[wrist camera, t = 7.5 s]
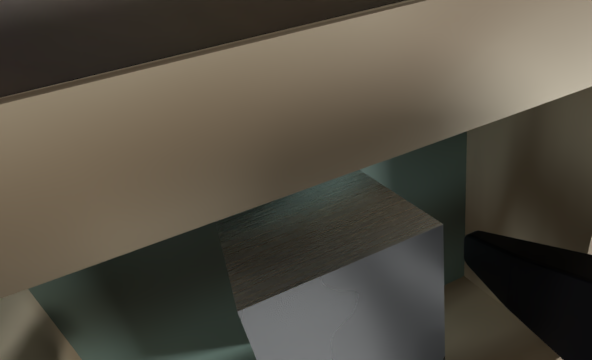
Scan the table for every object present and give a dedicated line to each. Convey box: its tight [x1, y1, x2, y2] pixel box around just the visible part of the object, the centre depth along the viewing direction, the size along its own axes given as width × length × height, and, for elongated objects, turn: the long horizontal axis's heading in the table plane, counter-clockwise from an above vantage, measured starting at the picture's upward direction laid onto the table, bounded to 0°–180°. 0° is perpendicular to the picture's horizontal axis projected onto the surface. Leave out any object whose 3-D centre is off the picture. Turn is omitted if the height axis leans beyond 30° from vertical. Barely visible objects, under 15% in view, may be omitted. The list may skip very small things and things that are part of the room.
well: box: [0, 0, 592, 360], centre depth 9 cm, size 14×20×4 cm
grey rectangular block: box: [216, 170, 445, 360], centre depth 9 cm, size 6×4×4 cm, turn 12°
